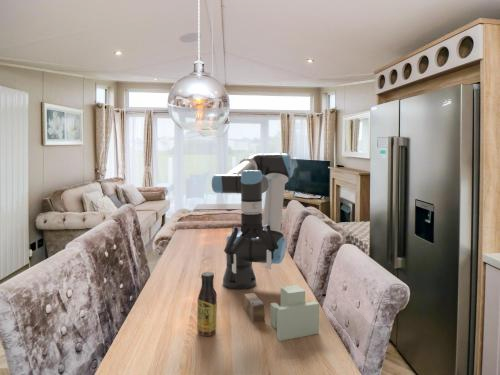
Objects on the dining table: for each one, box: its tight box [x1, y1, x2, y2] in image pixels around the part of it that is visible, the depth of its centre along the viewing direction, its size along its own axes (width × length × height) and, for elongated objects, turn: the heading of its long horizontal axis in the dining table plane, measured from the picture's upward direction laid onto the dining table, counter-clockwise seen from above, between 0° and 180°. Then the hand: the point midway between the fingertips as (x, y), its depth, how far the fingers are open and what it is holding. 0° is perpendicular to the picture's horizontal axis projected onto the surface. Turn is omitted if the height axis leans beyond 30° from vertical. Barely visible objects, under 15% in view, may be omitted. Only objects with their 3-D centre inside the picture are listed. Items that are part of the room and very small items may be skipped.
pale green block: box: [269, 284, 320, 342], centre depth 118 cm, size 12×14×14 cm
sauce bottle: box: [196, 271, 218, 337], centre depth 115 cm, size 7×6×20 cm
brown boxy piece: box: [243, 292, 266, 324], centre depth 128 cm, size 12×4×6 cm, turn 17°
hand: (251, 270), depth 130 cm, fingers open, 13 cm apart
